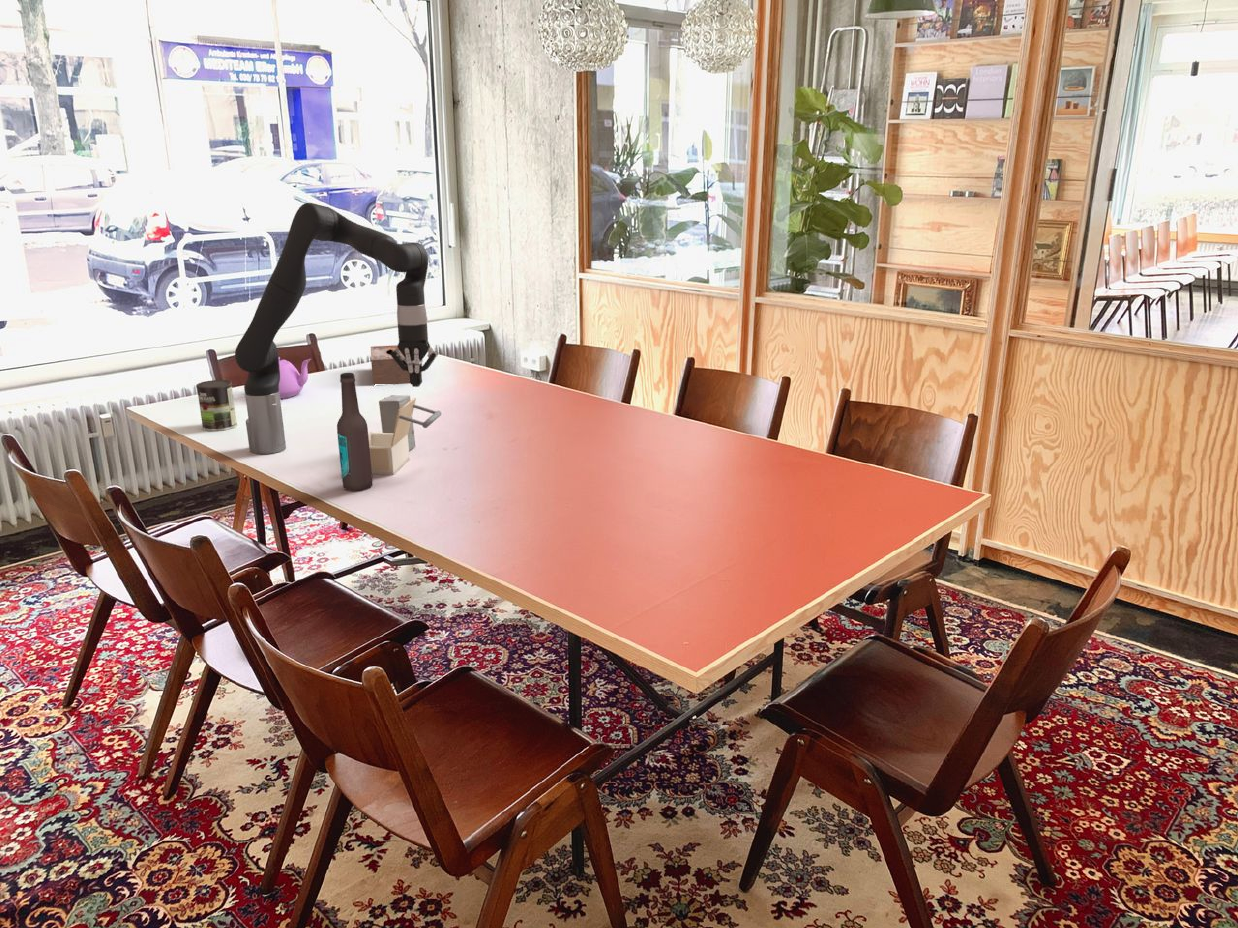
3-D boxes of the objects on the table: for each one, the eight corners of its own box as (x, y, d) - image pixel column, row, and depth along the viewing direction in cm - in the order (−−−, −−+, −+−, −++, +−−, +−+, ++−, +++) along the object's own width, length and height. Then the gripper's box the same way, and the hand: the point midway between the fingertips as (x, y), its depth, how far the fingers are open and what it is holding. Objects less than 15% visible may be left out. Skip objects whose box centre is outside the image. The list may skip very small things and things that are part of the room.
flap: (398, 410, 244) (428, 419, 244) (414, 397, 256) (443, 407, 256) (390, 445, 247) (420, 455, 247) (406, 432, 259) (435, 441, 259)
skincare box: (405, 455, 266) (400, 401, 261) (381, 453, 268) (377, 400, 263) (416, 446, 274) (412, 394, 269) (394, 445, 275) (390, 393, 270)
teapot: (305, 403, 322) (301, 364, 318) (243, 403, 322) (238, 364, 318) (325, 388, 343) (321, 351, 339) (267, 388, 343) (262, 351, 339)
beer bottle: (341, 484, 243) (329, 372, 234) (370, 480, 246) (360, 369, 236) (345, 493, 237) (333, 378, 227) (375, 489, 239) (364, 375, 230)
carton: (353, 473, 251) (351, 447, 248) (372, 457, 264) (370, 432, 261) (393, 475, 249) (390, 448, 247) (410, 459, 263) (408, 433, 260)
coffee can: (220, 433, 288) (214, 388, 284) (195, 429, 292) (188, 385, 287) (244, 424, 297) (239, 381, 293) (220, 421, 301) (213, 378, 296)
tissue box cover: (372, 371, 370) (370, 346, 367) (409, 369, 373) (408, 344, 370) (373, 386, 346) (371, 360, 343) (412, 384, 350) (411, 357, 346)
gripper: (382, 323, 240) (387, 388, 245) (432, 324, 238) (436, 390, 244) (392, 318, 247) (397, 382, 252) (441, 319, 245) (444, 383, 251)
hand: (416, 386), depth 248 cm, fingers closed
